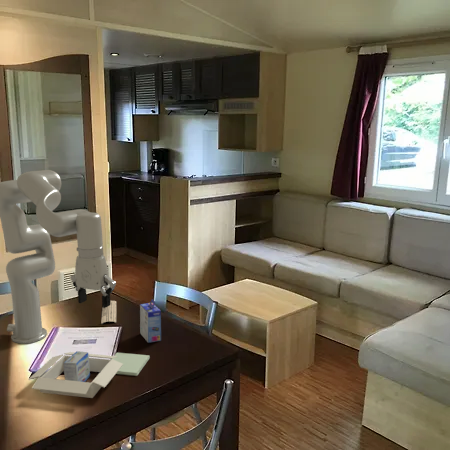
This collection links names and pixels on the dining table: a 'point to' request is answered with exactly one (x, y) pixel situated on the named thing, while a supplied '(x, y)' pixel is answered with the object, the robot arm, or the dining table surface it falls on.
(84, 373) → the medicine box
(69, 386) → the carton
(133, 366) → the plate
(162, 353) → the dining table surface
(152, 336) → the ink cartridge box
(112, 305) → the newspaper
